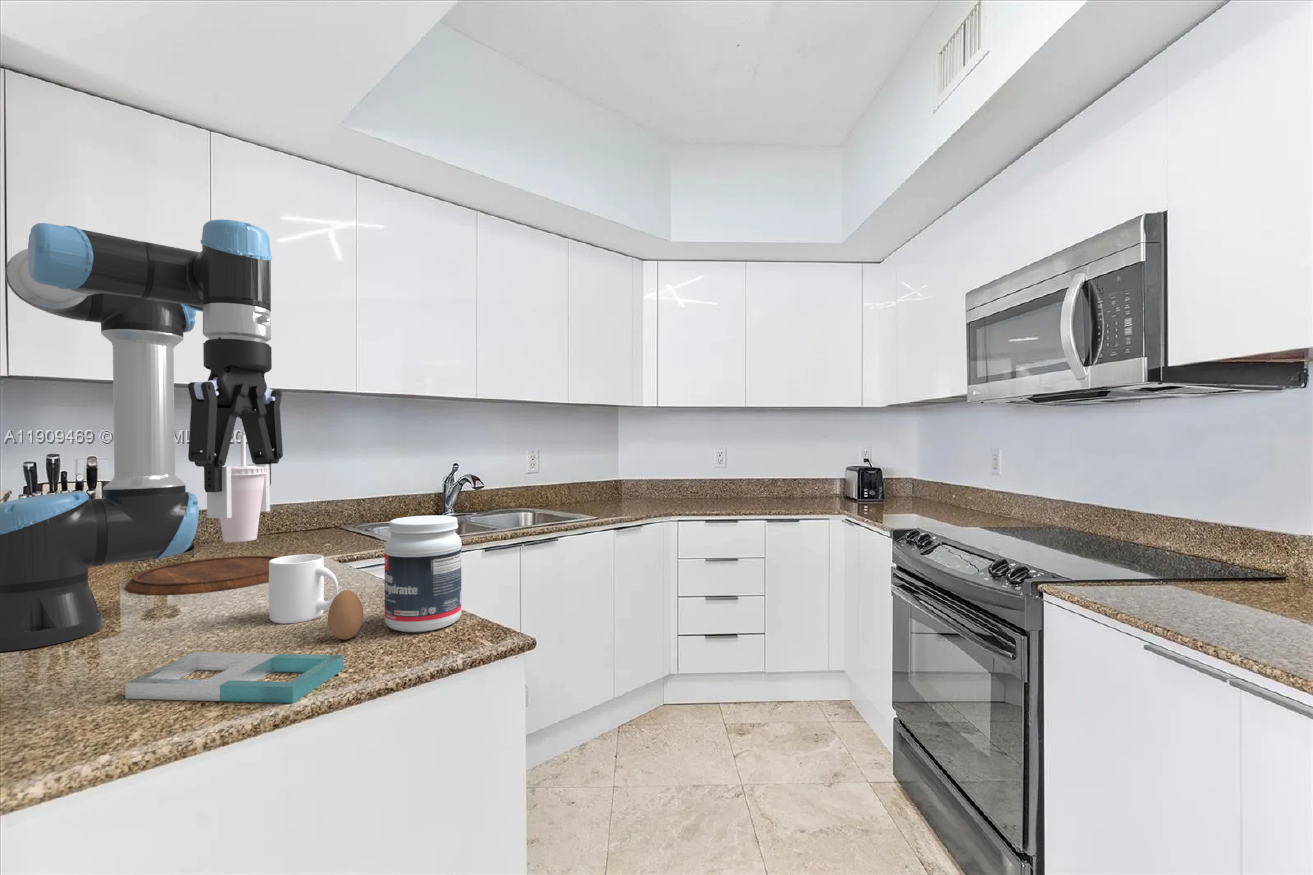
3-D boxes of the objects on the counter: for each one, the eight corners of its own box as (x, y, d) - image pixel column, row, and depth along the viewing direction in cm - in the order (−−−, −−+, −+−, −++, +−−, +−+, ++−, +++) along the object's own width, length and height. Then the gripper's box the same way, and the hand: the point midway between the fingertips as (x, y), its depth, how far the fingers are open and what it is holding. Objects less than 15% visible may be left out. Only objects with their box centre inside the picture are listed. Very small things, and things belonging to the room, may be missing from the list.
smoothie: (279, 537, 84) (278, 434, 84) (233, 545, 78) (231, 434, 78) (246, 535, 86) (245, 435, 86) (198, 542, 80) (197, 435, 80)
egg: (349, 632, 103) (349, 585, 103) (370, 636, 101) (370, 588, 101) (320, 641, 99) (320, 592, 99) (341, 646, 96) (341, 596, 96)
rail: (125, 698, 77) (125, 682, 77) (196, 665, 88) (196, 651, 88) (292, 703, 76) (292, 687, 76) (343, 669, 87) (343, 655, 87)
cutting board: (262, 559, 166) (262, 550, 166) (319, 575, 147) (319, 564, 147) (106, 582, 140) (106, 571, 140) (152, 605, 121) (152, 592, 121)
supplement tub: (367, 628, 105) (367, 521, 105) (425, 609, 117) (424, 513, 117) (422, 639, 100) (422, 526, 100) (477, 618, 111) (477, 517, 111)
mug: (323, 625, 107) (323, 564, 107) (257, 624, 108) (257, 563, 108) (351, 611, 116) (350, 554, 116) (290, 610, 117) (289, 553, 116)
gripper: (206, 327, 72) (208, 524, 72) (311, 350, 91) (312, 506, 91) (146, 329, 73) (148, 524, 72) (263, 352, 92) (265, 506, 92)
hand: (239, 514), depth 82 cm, fingers closed on smoothie, 6 cm apart
